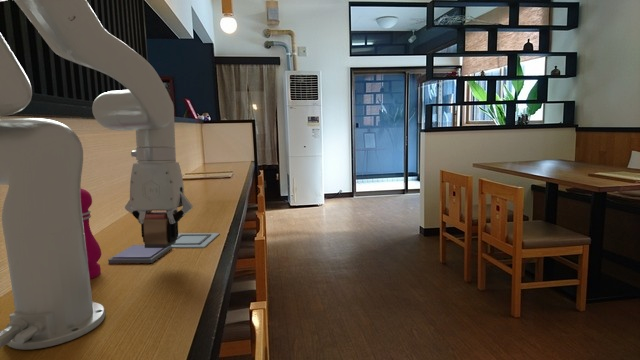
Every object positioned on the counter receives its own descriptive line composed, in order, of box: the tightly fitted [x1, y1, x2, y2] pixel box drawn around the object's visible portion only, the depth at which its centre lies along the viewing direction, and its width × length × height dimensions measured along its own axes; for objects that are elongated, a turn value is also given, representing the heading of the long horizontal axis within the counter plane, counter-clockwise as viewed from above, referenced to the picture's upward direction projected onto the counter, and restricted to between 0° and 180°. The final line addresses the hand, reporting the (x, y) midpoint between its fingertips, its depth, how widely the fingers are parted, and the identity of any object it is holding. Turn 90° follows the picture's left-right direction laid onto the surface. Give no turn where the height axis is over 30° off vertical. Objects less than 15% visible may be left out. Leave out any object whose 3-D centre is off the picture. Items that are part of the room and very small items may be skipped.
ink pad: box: [107, 244, 172, 265], centre depth 90 cm, size 10×10×1 cm
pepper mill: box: [81, 188, 102, 280], centre depth 77 cm, size 7×7×20 cm
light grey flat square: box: [171, 232, 220, 249], centre depth 101 cm, size 12×12×1 cm
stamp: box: [143, 211, 176, 248], centre depth 81 cm, size 5×5×7 cm
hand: (160, 240), depth 81 cm, fingers closed on stamp, 4 cm apart
